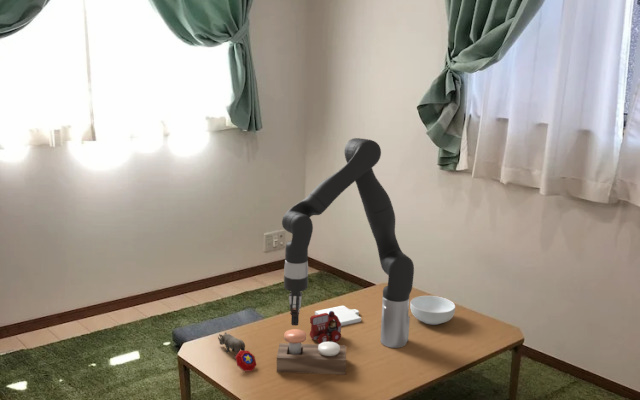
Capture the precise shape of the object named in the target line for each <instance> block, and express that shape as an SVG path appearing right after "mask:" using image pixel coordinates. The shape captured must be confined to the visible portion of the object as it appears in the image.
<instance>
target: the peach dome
mask: <svg viewBox="0 0 640 400" xmlns="http://www.w3.org/2000/svg"><path fill="white" fill-rule="evenodd" d="M283 336H284V338H283V339H284V341H285V342H286V343H289V354H291V355H299V354H301V344H302V343H303V342H305V341H306V340H307V332H306V331H305V330H303V329H299V328H293V329H288V330H286V331H285V332H284V335H283Z"/></svg>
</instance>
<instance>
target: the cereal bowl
mask: <svg viewBox="0 0 640 400" xmlns="http://www.w3.org/2000/svg"><path fill="white" fill-rule="evenodd" d="M409 308H410V309H409V310H410V311H411V314H412V316H413V317H415V319H417V320H418V321H420V322H422V323H424V324H425V325H426V324H427V325H432V326H435V325H440V324H443V323H446V322H449V321H450V320H452V319H453V317H454V315H455V312H456V305H455V303H454V302H453V301H452V300H450V299H448V298H445V297H441V296H437V295H421V296H419V295H418V296H416V297H414V298H412V299H411V300H410V301H409Z"/></svg>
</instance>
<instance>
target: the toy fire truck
mask: <svg viewBox="0 0 640 400" xmlns="http://www.w3.org/2000/svg"><path fill="white" fill-rule="evenodd" d="M334 320H335V321H334ZM309 322H310V323H309V324H310V332H309V337H310V338H311V340H314V341H316V340H317V344H320V343H322V342H335V343H339V342H340V341H341V339H342V334H341V332H342V326H341V323H340V321H339V319H338V317H337V316H336V315H334V312H333V311H330V312H329V314H327V313H323V314H319V315H315V314H314V315H311V316H310V320H309ZM335 326H336V327H335Z"/></svg>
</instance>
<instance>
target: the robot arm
mask: <svg viewBox="0 0 640 400" xmlns="http://www.w3.org/2000/svg"><path fill="white" fill-rule="evenodd" d="M343 153H344V158H345V161H346V164H345V165H344V166H343V167H341V169H339V170H338V171H336V172H335V173H333V174H332V175H330V176H328V177H326V178H325V179H324V180H322V181H321V182H320V183H319V184H318V185H317V186H316V187H315V188H314V189H313V190H311V192H310V193H309V194H308V195H307V196H306V197H305V198H303V199H302V200H300V201H298V202H297V203H296V204H294V205H293V206H292V207H290V208H289V209H288V210H287V211H286V212H285V213H284V215H283V217H282V221H281V224H282V225H281V226H282V228H283V229H284V230H286V231H287V232H288V233H290V234H292V235H291V236H292V237H291V240H290V241H288V242H287V243H286V245H285V250H284V252H285V253H284V254H285V258H284V267H283V268H284V269H283V273H284V275H283V287H284V289H285V290H286V291H289V294H288V301H289V309H290V313H289V314H290V316H291V326H298V325H299V323H300V322H299V321H300V318H299V316H300V312H301V311H300V309H301V306H302V298H303V291H306V290H307V289H308V287H309V284H308V283H309V263H308V262H309V261H308V259H309V258H308V256H309V253H308V252H309V251H308V250H309V245H310V242H311V238H312V236H313V235H312V234H313V230H314V227H313V221H312V219H311V217H313V216H321V215H322V214H323V213H324V212H325V211H326V210H327V209H328V207H330V206H331V204H333V202H334V201H335V200H336V199H337V198H338V197H339V196H340V195H341V194H342V193H343V192H344V191H345V190H346V189H348V188H349V187H350V186H352V184H353V183H356V187H357V190H358V193H359V196H360V199H361V203H362V206H363V210H364V213H365V216H366V218H367V222H368V224H369V227H370V230H371V233H372V236H373V238H374V240H375V244H376V248H377V251H378V256H379V262H380V266H381V269H382V271H384V273H385V274H386V275H388V277H387V285H386V286H384V288H383V290H382V299H381V300H382V303H381V304H382V306H381V320H380V321H381V324H380V343H381V344H382V345H383V346H385V347H387V348H392V349H397V348H403V347H404V346H406V345H407V342H409V336H410V335H409V333H410V318H411V317H410V316H409V310H410V309H409V308H410V295H411V292H412V290H413V283H414V282H413V281H414V273H415V268H414V262H413V260H412V259H411V258H410V257H409V256H407V254H405V253H404V252H403V251H402V249H401V247H400V245H399V243H398V238H397V236H396V215H395V214H396V213H395V210H394V207H393V203H392V201H391V197H390V196H389V194H388V193H387V191H386V190H385V188H384V186H383V185H382V184H381V182H380V180H378V178H377V176H376V175H375V172H374V170H373V167H375V166H376V164H378V162H379V161H380V159H381V156H382V150H381V146H380V144H378V142H376V141H375V140H372V139H366V138H360V137H359V138H358V137H354V138H350V139H349V140H348V141H347V142H346V144H345V146H344V151H343Z"/></svg>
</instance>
